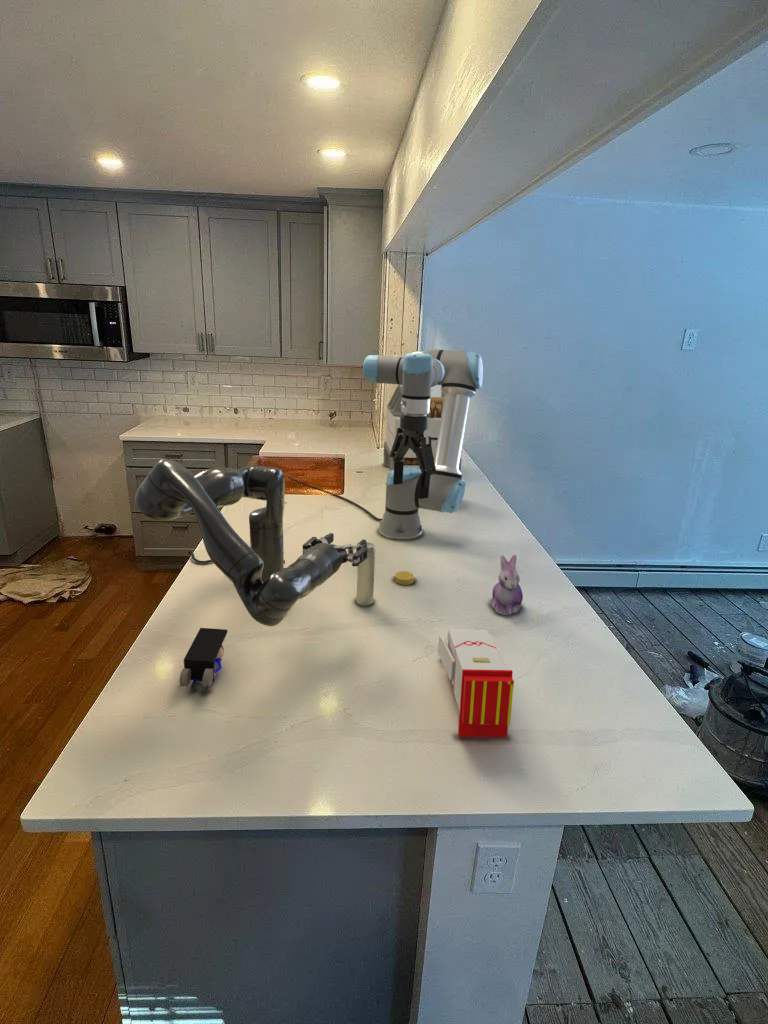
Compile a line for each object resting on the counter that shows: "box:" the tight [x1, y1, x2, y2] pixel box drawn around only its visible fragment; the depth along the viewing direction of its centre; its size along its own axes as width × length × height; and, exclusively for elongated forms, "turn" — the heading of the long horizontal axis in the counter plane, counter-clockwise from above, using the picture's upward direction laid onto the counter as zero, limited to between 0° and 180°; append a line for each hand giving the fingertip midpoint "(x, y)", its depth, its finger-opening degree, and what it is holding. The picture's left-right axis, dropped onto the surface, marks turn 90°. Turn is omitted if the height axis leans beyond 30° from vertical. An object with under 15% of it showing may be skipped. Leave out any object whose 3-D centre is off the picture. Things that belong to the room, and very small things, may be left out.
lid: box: [394, 570, 415, 586], centre depth 166 cm, size 6×6×2 cm
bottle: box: [355, 541, 376, 607], centre depth 150 cm, size 4×4×17 cm
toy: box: [437, 628, 515, 738], centre depth 117 cm, size 12×13×30 cm
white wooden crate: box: [383, 384, 463, 473], centre depth 268 cm, size 34×33×41 cm
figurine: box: [491, 554, 524, 616], centre depth 150 cm, size 9×10×15 cm
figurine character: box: [178, 627, 228, 692], centre depth 119 cm, size 7×8×15 cm
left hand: (348, 540), depth 136 cm, fingers open, 8 cm apart
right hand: (410, 490), depth 157 cm, fingers open, 13 cm apart
